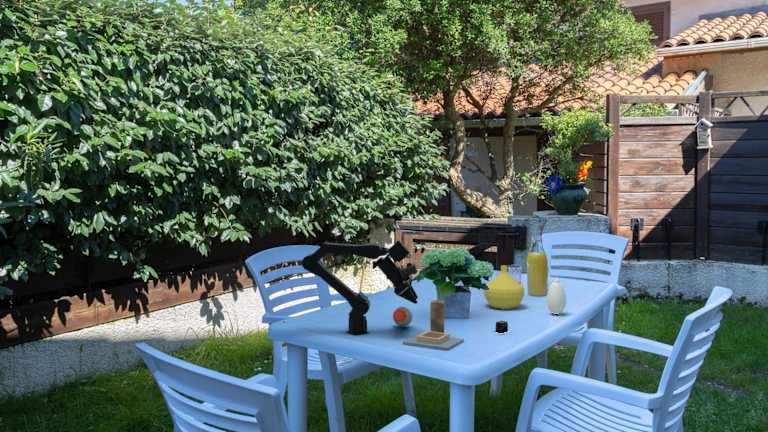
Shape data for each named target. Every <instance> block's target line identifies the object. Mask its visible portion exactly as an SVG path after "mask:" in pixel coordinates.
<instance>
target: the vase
mask: <svg viewBox="0 0 768 432" xmlns="http://www.w3.org/2000/svg"><path fill="white" fill-rule="evenodd" d="M485 285H487V286H488V288H489V290H484V289H483V295H484V297H485V299H486V302H487V303H488V304H489V305H490V306H491V307H492V308H493V307H495V308H494V309H496V308H513V309H515V308H517V307H518V306H519V305H521V302H522V301H523V299H524V296H525V287H524V285H523V284H521V283H520V282H519V281H518V280H516V279H515V278H513V276H511V275H510V273H509V272H508V265H503V264H502V265H500V272H499V274H498V275H497V276H496V277H493V279H491V280H490V281H489V282H488V283H485ZM514 307H515V308H514Z"/></svg>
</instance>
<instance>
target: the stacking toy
mask: <svg viewBox="0 0 768 432" xmlns="http://www.w3.org/2000/svg"><path fill="white" fill-rule="evenodd" d="M392 320H393V322H394V323H395V324H396V325H397V326H399V327H407V326H409V325H410V324H411V323H412V321H413V313H412V311H411V309H410V308H408V307H407V306H398V307H397V308H395V309H394V311H393V313H392Z"/></svg>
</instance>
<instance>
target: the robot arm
mask: <svg viewBox="0 0 768 432" xmlns="http://www.w3.org/2000/svg"><path fill="white" fill-rule="evenodd" d="M327 254H336V255H337V254H340V255H349V256H350V255H352V256H359V257H362V258H366V259H370V260H373V261H372V267H371V268H372V269H373V270H375V269H376V268H378V269H379V270H380V271H381V272H382V273H383V275H384V276H385V278H386V279H387V280H388V281H390V283H391V284H392V286H393V287H394V288H393V289H394V290H393V293H394V294H395V295H396V296H397V297H400V298H403V299H405V300H406V301H408V302H410V303H413V304H415V305H416V304H418V301H417V299H418V298H419V297H418V296H419V295H418V294H417V293H416V290H415V289H414V287H413V286H412V284H413V283H412V282H413V279H412V276H411V275H416V274H417V273H418V269H417V268H418V267H416V264H415V263H412V262H408V263H406V266H405V267H403V268H401V266H397V264H396V263H397V262H398V263H401V262H402V261H403V260H404V259H405V258H406V257H407V256H409V255H410V254H411V251H410V250H409V248H408V247H407V246H406V245H405V244H404V243H402V242H401V241H400V240H397V241H396V242H394V244H393V245H391V247H390V248H388V247H384V246H381V245H380V243H377V242H370V243H369V242H368V243H363V244H352V243H336V242H334V243H333V242H329V241H326V242H324V243H322V244H321V246H320V247H319V248H317V249H316V250H314V252H313V253H309V254H307V255H306V256H304V257H303V259H302V260H301V266H302V269H304V270H306V271H307V272H309V273H310V274H312V275H314V276H317V277H318V278H320V279H322V281H323V282H325V283H326V284H328V286H330V288H332V289H333V290H335V292H337V293H338V294H339V295H340V296H342V297H343V298H344V299H345V300H346V301H347V303H348V304H349V306H350V307H351V310H350V312H349V313H348V330H346V333H349V334H351V335H354V336H357V335H363V334H369V331H368V320H367V316H366V314H367V313H368V312H369V310H370V308H371V301H370V300H369V296H367V295H365V294H364V293H363V291H361V290H360V291H358V292H356V291H354V290H352V289H351V288H350V287H349V286H348V285H346V284H345V283H344V282H343V281H342V280H341V279H340V278H338V277H337V276H336V275H335V274H334V273H332V272H331V271H330V270H329V269H328V268H327V267H326V265H325V264H324V262H323V261H322V259H323V258H324V257H325V256H326V255H327ZM375 260H376V261H375Z"/></svg>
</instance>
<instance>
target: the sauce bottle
mask: <svg viewBox="0 0 768 432" xmlns="http://www.w3.org/2000/svg"><path fill="white" fill-rule="evenodd" d="M555 276H556V278H555V279H554V280H553V282H552V283H551V284H550V286H549V288H548V292H547V295H546V296H547V297H546V304H547V305H546V306H547V308H548V311H549V312H550V313H552V312H554V313H563V312H564V310H565V309H566V306H567V295H566V292H565V289H564V286H563V284H562V283H561V281H560V279H558V274H557V273H556V274H555Z"/></svg>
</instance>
